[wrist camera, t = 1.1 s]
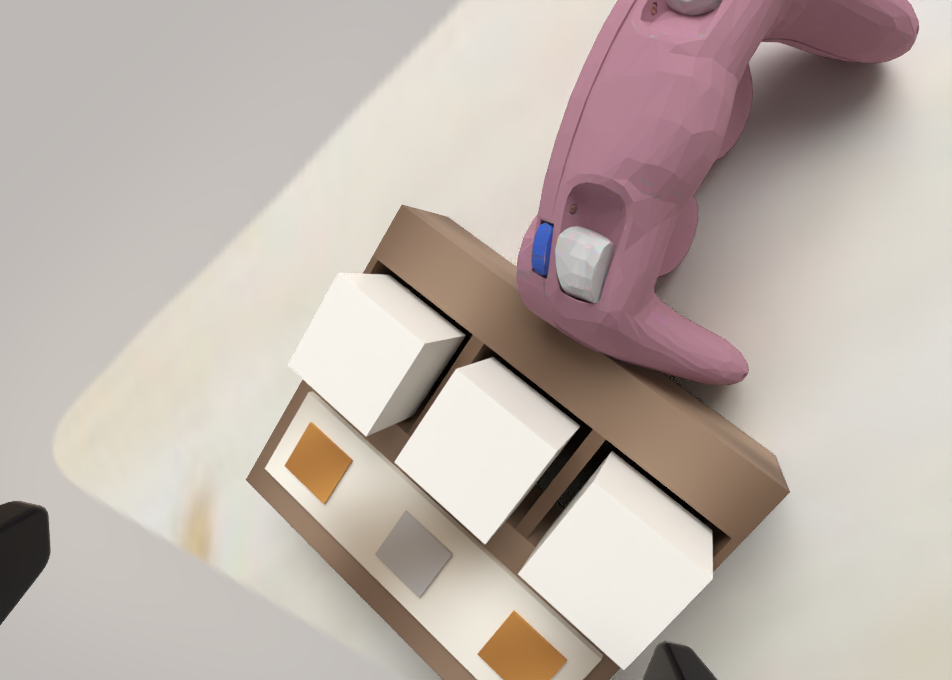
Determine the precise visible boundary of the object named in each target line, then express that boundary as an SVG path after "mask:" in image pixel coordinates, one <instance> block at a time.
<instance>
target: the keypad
mask: <svg viewBox="0 0 952 680" xmlns="http://www.w3.org/2000/svg"><path fill="white" fill-rule="evenodd" d="M363 274H383V275H390V276H392V277H393V278H394V279H395V280H397V281H398V282H399V283H400V284H402V285H403V286H404V287H405V288H407V289H408V290H409V291H410V290H411V288H412V287H413V288H414V289H416V290H417V291H418V292H419V293H421V294H422V295H423V296H425V297H426V298H427V299H428V300H430V301H431V302H432V303H433V304H435V305H436V306H437V307H438V308H440V309H441V310H442V311H444V312H445V313H446V314H447V315H449V316H450V317H451V318H452V319H454V320H455V321H456V322H458V323H459V324H460V325H461V326H463V327H464V328H465V329H466V330H468V331H469V332H470V333H471V334H473V335H472V337H471V338H470V340H469V341H468V343H467V344H466V346H465V347H464V349H463V350H462V352H461V353H460V355H459V356H458V358H457V359H456V361H455V362H454V364H453V366H452V367H451V369H450V370H449V372H448V373H447V375H446V376H445V378H444V379H443V381H442V382H441V384H440V385H439V387H438V388H437V390H436V391H435V393H434V394H433V396H432V397H431V396H430V395H429V394H427V396H426V397H425V399H424V400H423V402H422V403H421V405H420V406H419V408H418V409H417V411H416V412H415V414H414V415H413V416H412V417H410V418H408V419H405V420H403V421H401V422H398V423H396V424H394V425H392V426H389V427H387V428H385V429H382V430H380V431H378V432H375V433H373V434H371V435H369V436H365V435H364V434H363V433H361V432H360V431H359V430H358V429H357V428H356V427H355V426H354V425H353V424H352V423H350V422H349V421H348V420H347V419H346V418H345V417H344V416H343V415H342V414H341V413H339V412H338V411H337V410H336V409H335V408H334V407H333V406H332V405H331V404H330V403H328V402H327V401H326V400H325V399H324V398H323V397H322V396H321V395H320V394H318V393H317V392H316V391H315V390H314V389H313V388H312V387H311V386H310V385H309V384H307V383H306V382H305V381H304V380H302V382H301V384H300V385H299V387H298V389H297V391H296V392H295V394H294V396H293V398H292V399H291V401H290V403H289V405H288V406H287V408H286V410H285V412H284V414H283V415H282V417H281V419H280V421H279V422H278V424H277V426H276V428H275V429H274V431H273V433H272V435H271V436H270V438H269V440H268V442H267V444H266V445H265V447H264V449H263V451H262V452H261V454H260V456H259V458H258V459H257V461H256V463H255V465H254V466H253V468H252V470H251V472H250V474H249V475H248V477H247V479H246V481H247V482H248V483H249V484H250V485H251V486H252V487H253V488H254V489H255V490H256V491H257V492H258V493H259V494H260V495H261V496H262V497H263V498H264V499H265V500H266V501H267V502H268V503H269V504H270V505H271V506H272V507H273V508H274V509H275V510H276V511H277V512H278V513H279V514H280V515H281V516H282V517H283V518H284V519H285V520H286V521H287V522H288V523H289V524H290V525H291V526H292V527H293V528H294V529H295V530H296V531H297V532H298V533H299V534H300V535H301V536H302V537H303V538H304V539H305V540H306V541H307V542H308V543H309V544H310V545H311V546H312V547H313V548H314V549H315V550H316V551H317V552H318V553H319V554H320V556H321V557H322V558H323V559H324V560H325V561H326V562H327V563H328V564H329V565H330V566H331V567H332V568H333V569H334V570H335V571H336V572H337V573H338V574H339V575H340V576H341V577H342V578H343V579H344V580H345V581H346V582H347V583H348V584H349V585H350V586H351V587H352V588H353V589H354V590H355V591H356V592H357V593H358V594H359V595H360V596H361V597H362V598H363V599H364V600H365V601H366V602H367V603H368V604H369V605H370V606H371V607H372V608H373V609H374V610H375V611H376V612H377V613H378V614H379V615H380V616H381V617H382V618H383V619H384V620H385V621H386V622H387V623H388V624H389V625H390V626H391V627H392V628H393V629H394V630H395V631H396V632H397V634H398V635H399V636H400V637H401V638H402V639H403V640H404V641H405V642H406V643H407V644H408V645H409V646H410V647H411V648H412V649H413V650H414V651H415V652H416V653H417V654H418V655H419V656H420V657H421V658H422V659H423V660H424V661H425V662H426V663H427V664H428V665H429V666H430V667H431V668H432V669H433V670H434V671H435V672H436V673H437V674H438V675H439V676H440V677H441V678H442V679H443V680H609V679H610V678H611V677H612V676H613V675H614V674H615V673H616V672H617V671H618V670H619V669H620V668H621V667H619V666H618V665H617V664H616V663H615V662H614V661H613V660H612V659H611V658H610V657H608V656H607V655H606V654H605V653H604V652H603V651H602V650H601V649H600V648H599V647H597V646H596V645H595V644H594V643H593V642H592V641H591V640H590V639H589V638H588V637H586V636H585V635H584V634H583V633H582V632H581V631H580V630H579V629H578V628H576V627H575V626H574V625H573V624H572V623H571V622H570V621H569V620H568V619H567V618H565V617H564V616H563V615H562V614H561V613H560V612H559V611H558V610H557V609H556V608H554V607H553V606H552V605H551V604H550V603H549V602H548V601H547V600H546V599H545V598H543V597H542V596H541V595H540V594H539V593H538V592H537V591H536V590H535V589H533V588H532V587H531V586H530V585H529V584H528V583H527V582H526V581H525V580H524V579H522V578H521V577H520V576H519V575H518V573H519V572H520V570H521V569H522V567H523V566H524V564H525V563H526V561H527V560H528V558H529V557H530V555H531V554H532V552H533V551H534V549H535V548H536V546H537V545H538V543H539V542H540V540H541V539H542V537H543V536H544V534H545V533H546V531H547V530H548V529H549V528H550V526H551V525H552V524H553V523H554V521H555V520H556V519H557V518H558V516H559V515H560V514H561V513H562V512H563V510H564V508H563V507H561V506H560V505H559V504H558V503H557V502H556V501H557V500H558V499H559V498H560V496H561V495H562V494H563V493H564V491H565V490H566V489H567V488H568V486H569V485H570V484H571V483H572V481H573V480H574V479H575V478H576V476H577V475H578V474H579V473H580V471H581V470H582V469H583V468H584V466H585V465H586V464H587V463H588V461H589V460H590V459H591V458H592V456H593V455H594V454H595V453H596V451H597V450H598V449H599V448H600V446H601V445H602V444H603V443H604V441H605V440H607V441H609V442H610V443H611V444H612V445H614V446H615V447H616V448H618V449H619V450H620V451H621V452H623V453H624V454H625V455H626V456H628V457H629V458H630V459H632V460H633V461H634V462H635V463H637V464H638V465H639V466H640V467H642V468H643V469H644V470H645V471H647V472H648V473H649V474H651V475H652V476H653V477H654V478H656V479H657V480H658V481H659V482H661V483H662V484H663V485H665V486H666V487H667V488H668V489H670V490H671V491H672V492H673V493H675V494H676V495H677V496H679V497H680V498H681V499H682V500H684V501H685V502H686V503H687V504H689V505H690V506H691V507H692V508H694V509H695V510H696V511H698V512H699V513H700V514H701V515H703V516H704V517H705V518H706V519H705V521H704V522H703V523H704V524H705V525H706V526H708V527H709V528H710V529H711V530H712V544H713V571H714V570H715V569H716V568H717V567H718V566H719V565H720V564H721V563H722V562H723V561H724V560H725V559H726V558H727V557H728V556H729V555H730V554H731V553H732V552H733V551H734V550H735V548H736V547H737V546H738V545H739V544H740V543H741V542H742V541H743V540H744V539H745V538H746V537H747V536H748V535H749V534H750V533H751V532H752V531H753V530H754V529H755V528H756V527H757V526H758V525H759V524H760V523H761V522H762V520H763V519H764V518H765V517H766V516H767V515H768V514H769V513H770V512H771V511H772V510H773V509H774V508H775V507H776V506H777V505H778V504H779V503H780V502H781V501H782V500H783V499H784V498H785V497H786V496H787V495H788V493H789V492H790V491H789V489H788V486H787V484H786V481H785V478H784V476H783V473H782V471H781V468H780V466H779V463H778V461H777V458H776V456H775V455H774V454H773V453H771V452H770V451H769V450H767V449H766V448H764V447H763V446H762V445H760V444H759V443H758V442H756V441H755V440H753V439H752V438H751V437H749V436H748V435H747V434H745V433H744V432H742V431H741V430H740V429H738V428H737V427H736V426H734V425H733V424H732V423H730V422H729V421H727V420H726V419H725V418H723V417H722V416H721V415H719V414H718V413H716V412H715V411H714V410H712V409H711V408H710V407H708V406H707V405H705V404H704V403H703V402H701V401H700V400H699V399H697V398H696V397H694V396H693V395H692V394H690V393H689V392H688V391H686V390H685V389H683V388H682V387H681V386H679V385H678V384H677V383H675V382H674V381H672V380H671V379H670V378H668V377H667V376H666V375H664V374H663V373H661V372H658V371H654V370H650V369H647V368H643V367H639V366H636V365H632V364H629V363H625V362H622V361H619V360H616V359H614V358H612V357H610V356H608V355H606V354H604V353H602V352H599V353H598V352H596V351H594V350H592V349H590V348H588V347H586V346H584V345H582V344H581V343H579V342H577V341H575V340H574V339H572V338H570V337H569V336H567V335H565V334H564V333H562V332H561V331H559V330H558V329H557V328H555V327H554V326H552V325H551V324H549V323H548V322H546V321H545V320H543V319H541V318H540V317H538V316H537V315H535V314H534V313H533V312H531V311H530V310H529V309H528V308H527V307H526V306H525V305H524V303H523V302H522V299H521V297H520V294H519V292H518V286H517V280H516V274H517V267H516V266H514V265H513V264H512V263H510V262H509V261H507V260H506V259H505V258H503V257H502V256H501V255H499V254H498V253H497V252H495V251H494V250H492V249H491V248H490V247H488V246H487V245H486V244H484V243H483V242H481V241H480V240H479V239H477V238H476V237H475V236H473V235H472V234H470V233H469V232H468V231H466V230H465V229H464V228H462V227H461V226H459V225H458V224H457V223H455V222H454V221H453V220H451V219H450V218H448V217H446V216H442V215H438V214H435V213H431V212H427V211H424V210H420V209H416V208H413V207H409V206H405V205H401V207H400V209H399V211H398V212H397V214H396V216H395V218H394V219H393V221H392V223H391V225H390V226H389V228H388V230H387V232H386V234H385V235H384V237H383V239H382V241H381V242H380V244H379V246H378V248H377V249H376V251H375V253H374V255H373V256H372V258H371V260H370V262H369V264H368V265H367V267H366V269H365V271H364V272H363ZM492 357H494V358H495V359H496V360H498V361H499V362H500V361H501V360H502V359H505V360H506V361H507V362H508V363H510V364H511V365H512V366H513V367H515V368H516V369H517V370H518V371H520V372H521V373H522V374H524V375H525V376H526V377H527V378H529V379H530V380H531V381H532V382H534V383H535V384H536V385H538V386H539V387H540V388H541V389H543V390H544V391H545V392H546V393H548V394H549V395H550V396H552V397H553V398H554V399H555V400H557V401H558V402H559V403H560V404H562V405H563V406H564V407H565V408H567V409H568V410H569V411H571V412H572V413H573V414H574V415H576V416H577V417H578V418H579V419H581V420H582V421H583V422H585V423H586V424H587V425H588V426H590V427H591V428H592V429H593V430H592V431H591V432H590V434H589V435H588V436H587V438H586V439H585V440H584V441H583V443H582V444H581V445H580V446H579V448H578V449H577V450H576V452H575V453H574V454H573V455H572V457H571V458H570V459H569V460H568V462H567V463H566V464H565V466H564V467H563V468H562V469H561V471H560V472H559V473H558V474H557V476H556V477H555V478H554V480H553V481H552V482H551V483H550V485H549V486H548V487H547V488H546V490H545V491H543V490H541V489H540V488H539V487H538V486H537V485H535V486H534V487H533V488H532V489H531V491H530V492H529V493H528V495H527V496H526V497H525V498H524V500H523V501H522V502H521V504H520V505H519V506H518V507H517V509H516V510H515V511H514V512H513V513H512V514H511V515H510V517H509V518H508V519H507V520H506V521H505V522H504V524H503V525H502V526H501V527H500V528H499V529H498V530H497V532H496V533H495V534H494V535H493V536H492V537H491V538H490V540H489V541H488V542H487V543H486V544H484V543H483V542H482V541H481V540H479V539H478V538H477V537H476V536H475V535H474V534H473V533H472V532H471V531H470V530H468V529H467V528H466V527H465V526H464V525H463V524H462V523H461V522H460V521H459V520H457V519H456V518H455V517H454V516H453V515H452V514H451V513H450V512H449V511H447V510H446V509H445V508H444V507H443V506H442V505H441V504H440V503H439V502H438V501H436V500H435V499H434V498H433V497H432V496H431V495H430V494H429V493H428V492H427V491H425V490H424V489H423V488H422V487H421V486H420V485H419V484H418V483H417V482H416V481H414V480H413V479H412V478H411V477H410V476H409V475H408V474H407V473H406V472H404V471H403V470H402V469H401V468H400V467H399V466H398V465H397V464H396V463H395V460H396V459H397V457H398V456H399V454H400V453H401V451H402V450H403V448H404V447H405V445H406V444H407V442H408V441H409V439H410V438H411V436H412V435H413V433H414V432H415V430H416V428H417V427H418V425H419V424H420V422H421V421H422V419H423V418H424V416H425V415H426V413H427V412H428V410H429V409H430V407H431V406H432V404H433V403H434V401H435V400H436V398H437V397H438V395H439V394H440V392H441V391H442V389H443V388H444V386H445V385H446V383H447V382H448V380H449V379H450V377H451V376H452V374H453V373H454V371H455V370H456V369H457V368H461V367H464V366H467V365H470V364H473V363H476V362H479V361H482V360H485V359H489V358H492Z"/></svg>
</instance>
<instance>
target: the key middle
mask: <svg viewBox="0 0 952 680" xmlns="http://www.w3.org/2000/svg"><path fill="white" fill-rule="evenodd" d="M579 428H580V425H579V424H577V423H576V422H575V421H574V420H572V419H571V418H570V417H569V416H567V415H566V414H565V413H563V412H562V411H561V410H560V409H558V408H557V407H556V406H555V405H553V404H552V403H551V402H550V401H548V400H547V399H546V398H545V397H543V396H542V395H541V394H539V393H538V392H537V391H536V390H534V389H533V388H532V387H531V386H529V385H528V384H527V383H526V382H524V381H523V380H522V379H521V378H519V377H518V376H517V375H515V374H514V373H513V372H512V371H510V370H509V369H508V368H507V367H505V366H504V365H503V364H502V363H500V362H499V361H498V360H496V359H495V358H494V357H492V358H489V359H485V360H482V361H479V362H476V363H473V364H470V365H467V366H464V367H461V368H457V369H456V370H455V371H454V373H453V374H452V376H451V377H450V379H449V380H448V382H447V383H446V385H445V386H444V388H443V389H442V391H441V392H440V394H439V395H438V397H437V398H436V400H435V401H434V403H433V404H432V406H431V407H430V409H429V410H428V412H427V413H426V415H425V416H424V418H423V419H422V421H421V422H420V424H419V425H418V427H417V428H416V430H415V432H414V433H413V435H412V436H411V438H410V439H409V441H408V442H407V444H406V445H405V447H404V448H403V450H402V451H401V453H400V454H399V456H398V457H397V459H396V460H395V463H396V464H397V465H398V466H399V467H400V468H401V469H402V470H403V471H404V472H406V473H407V474H408V475H409V476H410V477H411V478H412V479H413V480H414V481H416V482H417V483H418V484H419V485H420V486H421V487H422V488H423V489H424V490H425V491H427V492H428V493H429V494H430V495H431V496H432V497H433V498H434V499H435V500H436V501H438V502H439V503H440V504H441V505H442V506H443V507H444V508H445V509H446V510H447V511H449V512H450V513H451V514H452V515H453V516H454V517H455V518H456V519H457V520H459V521H460V522H461V523H462V524H463V525H464V526H465V527H466V528H467V529H468V530H470V531H471V532H472V533H473V534H474V535H475V536H476V537H477V538H478V539H479V540H481V541H482V542H483V543H484V544H486V543H487V542H488V541H489V540H490V538H491V537H492V536H493V535H494V534H495V533H496V532H497V530H498V529H499V528H500V527H501V526H502V525H503V524H504V522H505V521H506V520H507V519H508V518H509V517H510V515H511V514H512V513H513V512H514V511H515V510H516V509H517V507H518V506H519V505H520V504H521V502H522V501H523V500H524V498H525V497H526V496H527V495H528V493H529V492H530V491H531V489H532V488H533V487H534V486H535V484H536V483H537V482H538V480H539V479H540V478H541V477H542V475H543V474H544V473H545V471H546V470H547V469H548V468H549V466H550V465H551V464H552V462H553V461H554V460H555V459H556V457H557V456H558V455H559V453H560V452H561V451H562V449H563V448H564V447H565V446H566V444H567V443H568V442H569V440H570V439H571V438H572V437H573V435H574V434H575V433H576V431H577V430H578V429H579Z"/></svg>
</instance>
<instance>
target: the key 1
mask: <svg viewBox="0 0 952 680" xmlns="http://www.w3.org/2000/svg"><path fill="white" fill-rule="evenodd" d="M465 336H466V335H465V334H464V333H462V332H461V331H460V330H459V329H457V328H456V327H455V326H454V325H452V324H451V323H450V322H448V321H447V320H446V319H445V318H443V317H442V316H441V315H440V314H438V313H437V312H436V311H435V310H433V309H432V308H431V307H429V306H428V305H427V304H426V303H424V302H423V301H422V300H421V299H419V298H418V297H417V296H416V295H414V294H413V293H412V292H411V291H409V290H408V289H407V288H405V287H404V286H403V285H402V284H400V283H399V282H398V281H397V280H395V279H394V278H393V277H392V276H390V275H383V274H358V273H338V274H337V276H336V278H335V279H334V281H333V283H332V285H331V287H330V288H329V290H328V292H327V294H326V296H325V297H324V299H323V301H322V303H321V305H320V307H319V308H318V310H317V312H316V314H315V316H314V317H313V319H312V321H311V323H310V325H309V327H308V328H307V330H306V332H305V334H304V336H303V337H302V339H301V341H300V343H299V345H298V346H297V348H296V350H295V352H294V354H293V356H292V357H291V359H290V361H289V363H288V366H289V367H290V368H291V369H292V370H293V371H294V372H295V373H296V374H298V375H299V376H300V377H301V378H302V379H303V380H304V381H305V382H306V383H307V384H309V385H310V386H311V387H312V388H313V389H314V390H315V391H316V392H317V393H318V394H320V395H321V396H322V397H323V398H324V399H325V400H326V401H327V402H328V403H330V404H331V405H332V406H333V407H334V408H335V409H336V410H337V411H338V412H339V413H341V414H342V415H343V416H344V417H345V418H346V419H347V420H348V421H349V422H350V423H352V424H353V425H354V426H355V427H356V428H357V429H358V430H359V431H360V432H361V433H363V434H364V435H365V436H369V435H371V434H373V433H375V432H378V431H380V430H382V429H385V428H387V427H389V426H392V425H394V424H396V423H398V422H401V421H403V420H405V419H408V418H410V417H412V416H413V415H414V414H415V412H416V411H417V409H418V408H419V406H420V405H421V403H422V402H423V400H424V399H425V397H426V396H427V394H428V393H429V391H430V390H431V388H432V387H433V385H434V383H435V382H436V380H437V379H438V377H439V376H440V374H441V373H442V371H443V370H444V368H445V367H446V365H447V364H448V362H449V361H450V359H451V358H452V356H453V355H454V353H455V351H456V350H457V348H458V347H459V345H460V344H461V342H462V341H463V339H464V338H465Z"/></svg>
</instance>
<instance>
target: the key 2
mask: <svg viewBox="0 0 952 680" xmlns="http://www.w3.org/2000/svg"><path fill="white" fill-rule="evenodd" d="M518 575H519V576H520V577H521V578H522V579H524V580H525V581H526V582H527V583H528V584H529V585H530V586H531V587H532V588H533V589H535V590H536V591H537V592H538V593H539V594H540V595H541V596H542V597H543V598H545V599H546V600H547V601H548V602H549V603H550V604H551V605H552V606H553V607H554V608H556V609H557V610H558V611H559V612H560V613H561V614H562V615H563V616H564V617H565V618H567V619H568V620H569V621H570V622H571V623H572V624H573V625H574V626H575V627H576V628H578V629H579V630H580V631H581V632H582V633H583V634H584V635H585V636H586V637H588V638H589V639H590V640H591V641H592V642H593V643H594V644H595V645H596V646H597V647H599V648H600V649H601V650H602V651H603V652H604V653H605V654H606V655H607V656H608V657H610V658H611V659H612V660H613V661H614V662H615V663H616V664H617V665H618V666H619V667H621V668H622V669H623V670H625V669H626V668H627V667H628V666H629V665H630V664H631V663H632V662H633V661H634V660H635V659H636V658H637V657H638V656H639V655H640V653H641V652H642V651H643V650H644V649H645V648H646V647H647V646H648V645H649V644H650V643H651V642H652V641H653V640H654V639H655V638H656V637H657V636H658V635H659V634H660V633H661V632H662V631H663V630H664V629H665V628H666V627H667V626H668V625H669V624H670V623H671V621H672V620H673V619H674V618H675V617H676V616H677V615H678V614H679V613H680V612H681V611H682V610H683V609H684V608H685V607H686V606H687V605H688V604H689V603H690V602H691V601H692V600H693V599H694V598H695V597H696V596H697V595H698V594H699V593H700V592H701V591H702V589H703V588H704V587H705V586H706V585H707V584H708V583H709V582H710V581H711V580H712V579H713V544H712V530H711V529H710V528H709V527H708V526H706V525H705V524H704V523H703V522H701V521H700V520H699V519H697V518H696V517H695V516H694V515H692V514H691V513H690V512H689V511H687V510H686V509H685V508H684V507H682V506H681V505H680V504H679V503H677V502H676V501H675V500H673V499H672V498H671V497H670V496H668V495H667V494H666V493H665V492H663V491H662V490H661V489H660V488H658V487H657V486H656V485H655V484H653V483H652V482H651V481H649V480H648V479H647V478H646V477H644V476H643V475H642V474H641V473H639V472H638V471H637V470H636V469H634V468H633V467H632V466H630V465H629V464H628V463H627V462H625V461H624V460H623V459H622V458H620V457H619V456H618V455H617V454H615V453H614V452H613V451H611V452H610V454H609V455H608V456H607V457H606V459H605V460H604V461H603V462H602V463H601V465H600V466H599V467H598V468H597V470H596V471H595V472H594V473H593V475H592V476H591V477H590V478H589V480H588V481H587V482H586V483H585V484H584V486H583V487H582V488H581V489H580V491H579V492H578V493H577V494H576V496H575V497H574V498H573V499H572V500H571V502H570V503H569V504H568V505H567V507H566V508H565V509H564V510H563V512H562V513H561V514H560V515H559V516H558V518H557V519H556V520H555V521H554V523H553V524H552V525H551V526H550V528H549V529H548V530H547V531H546V533H545V534H544V536H543V537H542V539H541V540H540V542H539V543H538V545H537V546H536V548H535V549H534V551H533V552H532V554H531V555H530V557H529V558H528V560H527V561H526V563H525V564H524V566H523V567H522V569H521V570H520V572H519V573H518Z"/></svg>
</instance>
